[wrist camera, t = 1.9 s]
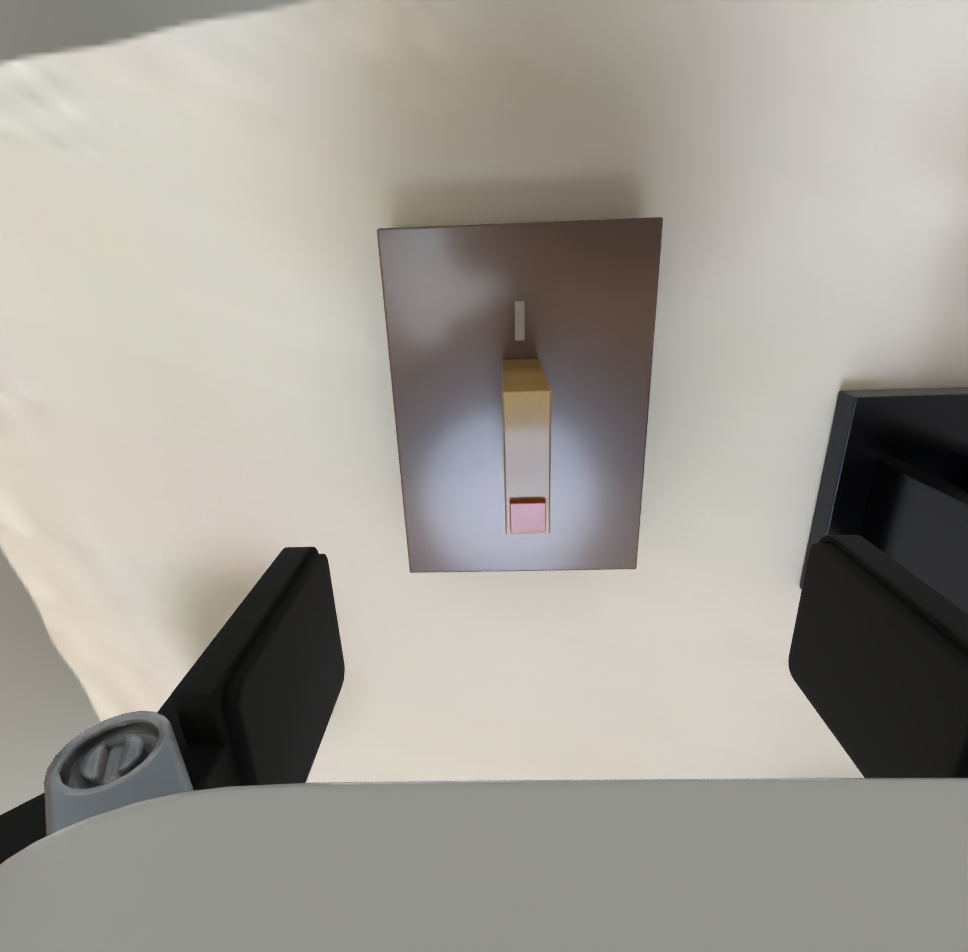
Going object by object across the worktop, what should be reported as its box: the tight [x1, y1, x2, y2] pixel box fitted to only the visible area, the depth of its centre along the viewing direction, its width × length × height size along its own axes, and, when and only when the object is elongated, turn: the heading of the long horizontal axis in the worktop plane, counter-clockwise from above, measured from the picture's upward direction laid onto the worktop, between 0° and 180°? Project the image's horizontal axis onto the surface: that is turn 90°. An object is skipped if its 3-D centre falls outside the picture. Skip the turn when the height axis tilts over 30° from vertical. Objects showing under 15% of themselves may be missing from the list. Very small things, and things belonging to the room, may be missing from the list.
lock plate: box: [377, 217, 663, 573], centre depth 23 cm, size 14×10×3 cm
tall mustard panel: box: [502, 359, 551, 534], centre depth 19 cm, size 5×1×6 cm, turn 2°
